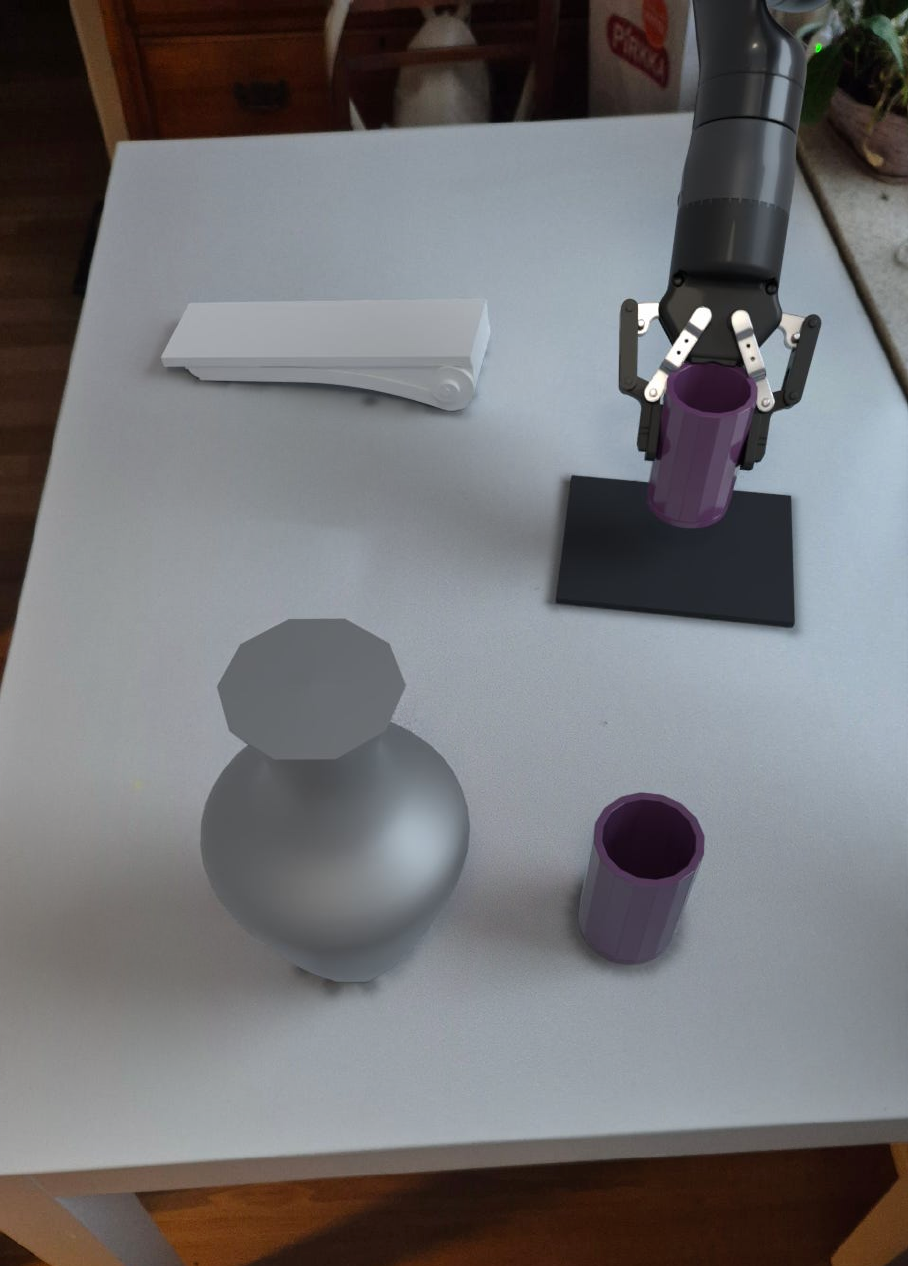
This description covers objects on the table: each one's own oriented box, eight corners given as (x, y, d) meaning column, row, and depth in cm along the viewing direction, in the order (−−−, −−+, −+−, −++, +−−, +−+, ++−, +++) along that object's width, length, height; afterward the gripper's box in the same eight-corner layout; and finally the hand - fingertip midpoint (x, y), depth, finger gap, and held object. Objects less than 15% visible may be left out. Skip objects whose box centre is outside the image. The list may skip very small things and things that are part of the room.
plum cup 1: (677, 883, 74) (705, 799, 65) (674, 970, 70) (703, 893, 62) (582, 872, 74) (597, 786, 66) (574, 958, 71) (590, 879, 63)
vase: (228, 1044, 68) (125, 821, 47) (250, 839, 76) (171, 568, 55) (469, 1043, 68) (474, 819, 47) (467, 838, 76) (470, 567, 55)
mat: (789, 500, 93) (791, 495, 93) (793, 627, 86) (795, 622, 85) (570, 480, 95) (571, 474, 94) (555, 603, 87) (556, 598, 87)
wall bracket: (188, 426, 107) (480, 429, 101) (156, 372, 100) (467, 372, 94) (211, 340, 110) (495, 338, 104) (181, 282, 103) (483, 276, 97)
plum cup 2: (728, 476, 88) (757, 363, 79) (727, 532, 84) (757, 421, 76) (648, 468, 88) (668, 355, 80) (644, 524, 85) (664, 412, 76)
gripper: (630, 184, 74) (598, 450, 78) (853, 201, 73) (811, 470, 77) (625, 219, 82) (596, 460, 85) (828, 234, 81) (790, 478, 84)
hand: (698, 464), depth 81 cm, fingers closed on plum cup 2, 6 cm apart
